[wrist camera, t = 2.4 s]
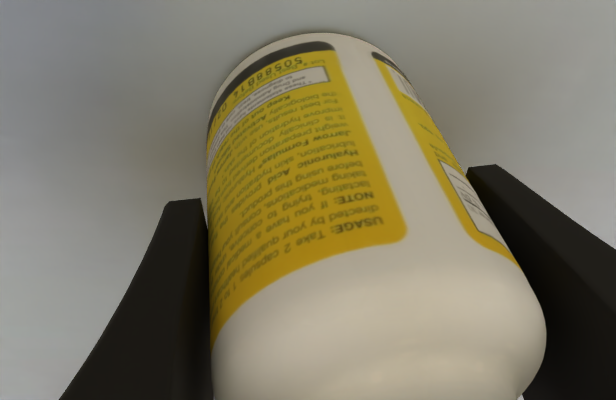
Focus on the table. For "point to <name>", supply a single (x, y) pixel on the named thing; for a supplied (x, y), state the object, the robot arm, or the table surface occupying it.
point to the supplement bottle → (352, 241)
